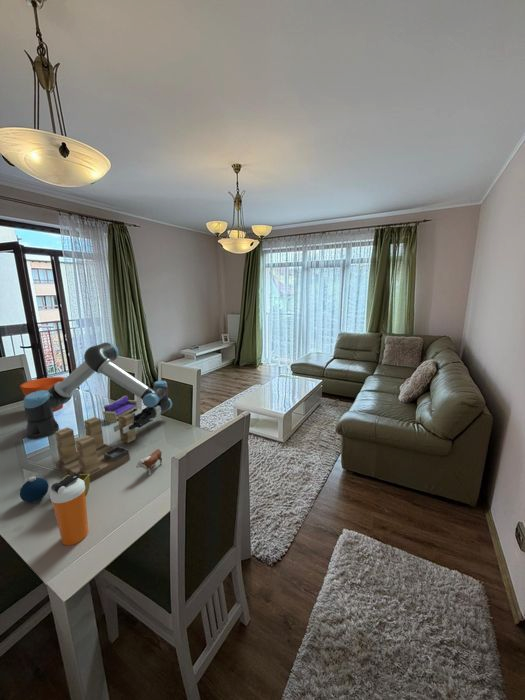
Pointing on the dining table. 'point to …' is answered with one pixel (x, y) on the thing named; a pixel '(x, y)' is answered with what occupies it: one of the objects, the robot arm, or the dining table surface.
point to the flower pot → (86, 479)
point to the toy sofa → (119, 408)
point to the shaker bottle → (70, 509)
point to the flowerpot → (41, 386)
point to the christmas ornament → (34, 489)
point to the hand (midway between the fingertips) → (118, 430)
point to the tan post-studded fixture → (88, 452)
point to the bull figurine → (150, 461)
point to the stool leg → (123, 422)
